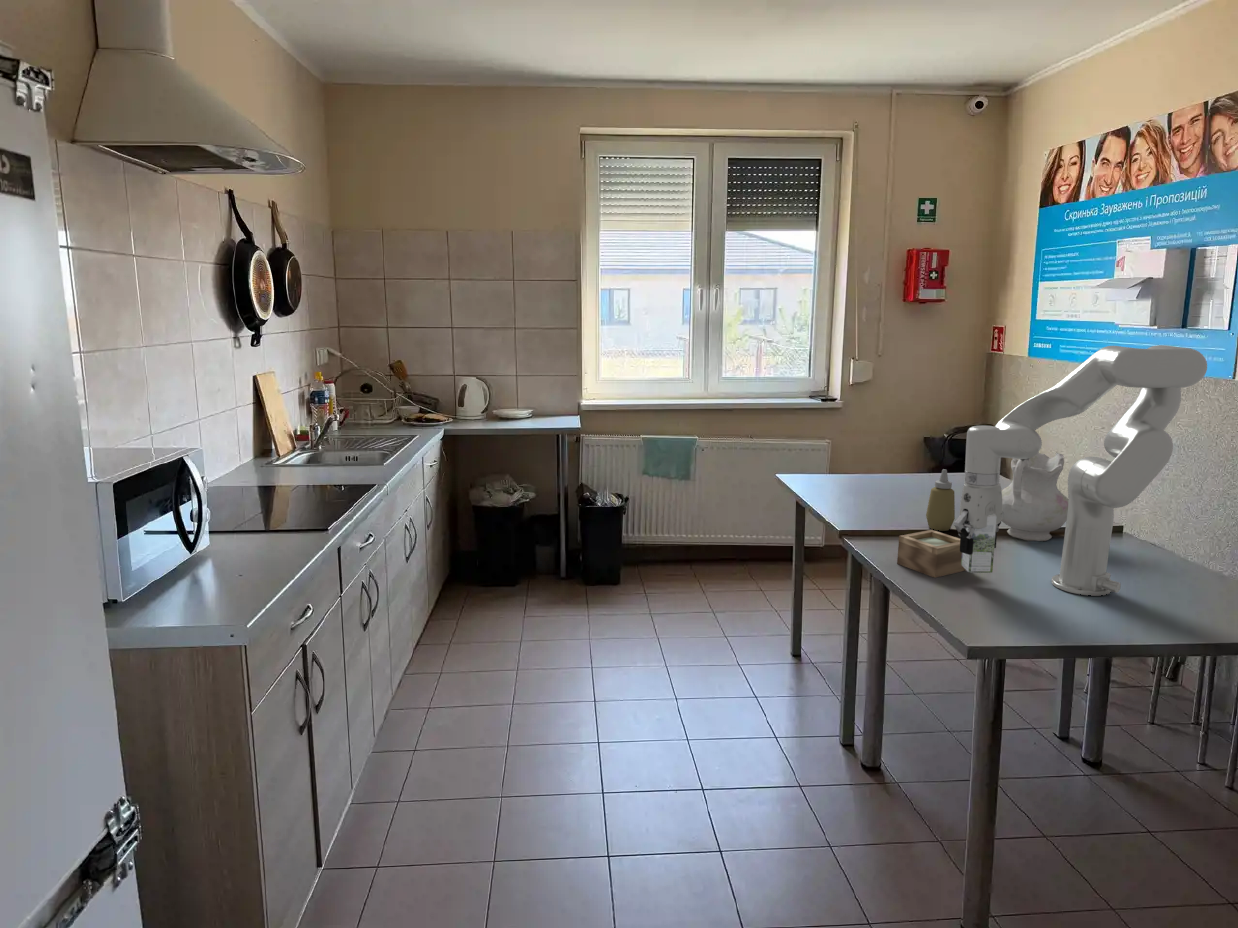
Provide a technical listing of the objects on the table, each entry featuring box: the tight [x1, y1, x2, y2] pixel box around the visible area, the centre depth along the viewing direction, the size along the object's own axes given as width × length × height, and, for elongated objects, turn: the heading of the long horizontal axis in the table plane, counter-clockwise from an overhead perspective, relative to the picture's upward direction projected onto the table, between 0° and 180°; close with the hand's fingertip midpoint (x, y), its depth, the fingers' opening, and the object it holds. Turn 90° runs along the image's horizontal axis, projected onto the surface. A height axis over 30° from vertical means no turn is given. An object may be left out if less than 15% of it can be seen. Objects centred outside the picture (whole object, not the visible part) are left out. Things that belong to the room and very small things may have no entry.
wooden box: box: [896, 529, 967, 578], centre depth 210 cm, size 12×12×8 cm
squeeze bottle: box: [925, 468, 956, 532], centre depth 242 cm, size 8×8×18 cm
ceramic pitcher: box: [1001, 451, 1068, 542], centre depth 235 cm, size 22×20×25 cm
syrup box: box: [961, 514, 997, 574], centre depth 196 cm, size 6×6×14 cm
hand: (977, 549), depth 196 cm, fingers closed on syrup box, 7 cm apart
